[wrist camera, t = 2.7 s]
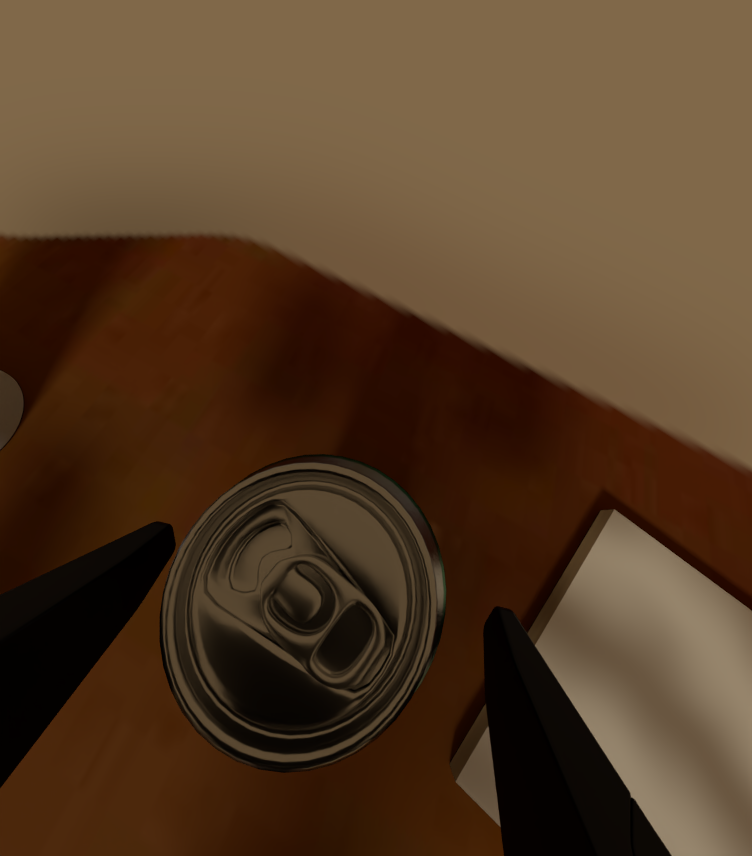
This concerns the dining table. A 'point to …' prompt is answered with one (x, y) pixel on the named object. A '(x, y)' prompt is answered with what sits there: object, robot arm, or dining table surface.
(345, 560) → the soda can
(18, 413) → the coffee cup
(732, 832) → the white rectangular tray
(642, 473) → the dining table surface
